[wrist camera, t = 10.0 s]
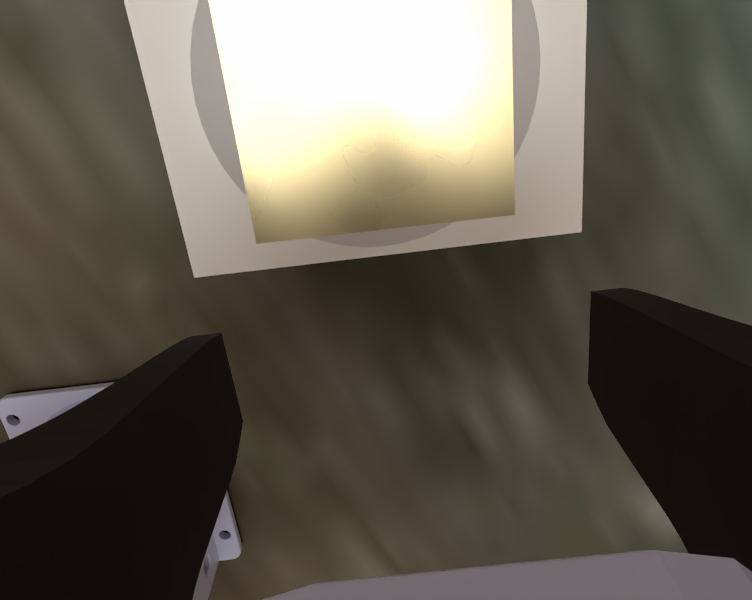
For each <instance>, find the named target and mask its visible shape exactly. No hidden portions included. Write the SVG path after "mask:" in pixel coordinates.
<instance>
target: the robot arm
mask: <svg viewBox="0 0 752 600" xmlns="http://www.w3.org/2000/svg"><path fill="white" fill-rule="evenodd" d="M588 384H589V387H590V389H591V391H592V394H593V396H594V398H595V400H596V403H597V405H598V407H599V409H600V411H601V413H602V415H603V417H604V420H605V422H606V424H607V425H608V427H609V429H610V430H611V432H612V433H613V435H614V436H615V438H616V439H617V441H618V443H619V444H620V446H621V447H622V449H623V450H624V452H625V453H626V455H627V456H628V458H629V459H630V461H631V462H632V464H633V465H634V467H635V468H636V470H637V471H638V473H639V474H640V476H641V477H642V479H643V480H644V482H645V483H646V485H647V486H648V488H649V489H650V491H651V492H652V494H653V495H654V497H655V498H656V500H657V501H658V503H659V504H660V506H661V507H662V509H663V510H664V512H665V513H666V515H667V516H668V518H669V519H670V521H671V523H672V524H673V526H674V528H675V529H676V531H677V533H678V534H679V536H680V538H681V539H682V541H683V543H684V545H685V547H686V549H687V551H688V553H689V554H686V553H676V552H666V551H657V550H640V551H630V552H620V553H610V554H600V555H590V556H580V557H570V558H560V559H550V560H540V561H530V562H520V563H510V564H500V565H490V566H480V567H469V568H459V569H449V570H439V571H429V572H419V573H409V574H399V575H389V576H379V577H369V578H359V579H349V580H339V581H329V582H319V583H314V584H311V585H308V586H305V587H301V588H298V589H295V590H292V591H288V592H285V593H282V594H279V595H275V596H272V597H269V598H266V599H262V600H752V326H750V325H747V324H743V323H740V322H737V321H733V320H730V319H727V318H723V317H720V316H717V315H714V314H711V313H708V312H705V311H702V310H698V309H695V308H692V307H689V306H686V305H683V304H680V303H677V302H674V301H671V300H668V299H665V298H662V297H659V296H655V295H652V294H649V293H645V292H641V291H638V290H633V289H627V288H618V289H609V290H600V291H591V308H590V339H589V369H588ZM12 415H15V416H17V417H18V418H19V419H20V420H17V419H15V418H14V417H13V416H12ZM0 418H1V421H2V423H3V425H4V428H5V430H6V432H7V434H8V437H9V439H10V440H8V441H6V442H3V443H1V444H0V600H208V598H209V594H210V591H211V587H212V584H213V580H214V576H215V573H216V569H217V566H218V562H219V561H221V560H231V559H235V558H237V557H239V555H240V554H241V550H242V543H241V539H240V535H239V532H238V528H237V524H236V521H235V517H234V513H233V510H232V506H231V502H230V499H229V495H228V491H227V488H228V485H229V482H230V479H231V476H232V473H233V470H234V467H235V463H236V458H237V453H238V448H239V442H240V436H241V429H242V423H243V419H242V415H241V411H240V407H239V403H238V399H237V395H236V391H235V387H234V383H233V379H232V375H231V371H230V367H229V362H228V358H227V354H226V350H225V346H224V342H223V338H222V334H221V333H218V334H209V335H200V336H192V337H189V338H186V339H184V340H182V341H180V342H178V343H176V344H175V345H173V346H171V347H169V348H168V349H166V350H165V351H163V352H161V353H160V354H158V355H157V356H155V357H154V358H152V359H150V360H149V361H147V362H146V363H144V364H143V365H141V366H140V367H138V368H137V369H135V370H133V371H132V372H130V373H129V374H127V375H126V376H124V377H123V378H121V379H119V380H118V381H116V382H111V383H102V384H93V385H85V386H76V387H67V388H59V389H50V390H41V391H32V392H24V393H15V394H8V395H5V396H4V397H3V398H1V399H0ZM223 530H225V531H228V532H229V533H225V532H223Z"/></svg>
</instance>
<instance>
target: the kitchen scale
mask: <svg viewBox="0 0 752 600" xmlns="http://www.w3.org/2000/svg"><path fill="white" fill-rule="evenodd" d="M124 3H125V7H126V11H127V15H128V19H129V22H130V26H131V30H132V34H133V38H134V42H135V46H136V50H137V54H138V58H139V62H140V66H141V70H142V74H143V78H144V82H145V86H146V90H147V93H148V97H149V101H150V105H151V109H152V113H153V117H154V121H155V125H156V129H157V133H158V137H159V141H160V145H161V149H162V153H163V157H164V161H165V164H166V168H167V172H168V176H169V180H170V184H171V188H172V192H173V196H174V200H175V204H176V208H177V212H178V216H179V220H180V224H181V228H182V231H183V235H184V239H185V243H186V247H187V251H188V255H189V259H190V263H191V267H192V271H193V275H194V278H196V277H205V276H213V275H222V274H230V273H239V272H247V271H256V270H264V269H273V268H281V267H290V266H298V265H307V264H315V263H323V262H332V261H340V260H349V259H357V258H366V257H374V256H383V255H391V254H400V253H408V252H417V251H425V250H434V249H442V248H451V247H459V246H468V245H476V244H484V243H493V242H501V241H510V240H518V239H527V238H535V237H544V236H552V235H561V234H569V233H578V232H582V196H583V152H584V108H585V63H586V19H587V0H512V63H513V126H514V189H515V215H510V216H501V217H492V218H483V219H474V220H465V221H456V222H447V223H438V224H429V225H420V226H411V227H403V228H394V229H385V230H376V231H367V232H358V233H349V234H340V235H331V236H322V237H313V238H304V239H295V240H287V241H278V242H269V243H260V244H256V240H255V234H254V229H253V224H252V219H251V214H250V209H249V204H248V199H247V194H246V189H245V184H244V179H243V174H242V168H241V163H240V158H239V153H238V148H237V143H236V138H235V133H234V128H233V123H232V118H231V113H230V107H229V102H228V97H227V92H226V87H225V82H224V77H223V72H222V67H221V62H220V57H219V52H218V46H217V41H216V36H215V31H214V26H213V21H212V16H211V11H210V6H209V1H208V0H124Z"/></svg>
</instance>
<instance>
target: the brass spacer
mask: <svg viewBox="0 0 752 600" xmlns="http://www.w3.org/2000/svg"><path fill="white" fill-rule="evenodd" d="M208 1H209V6H210V11H211V16H212V21H213V26H214V31H215V36H216V41H217V46H218V52H219V57H220V62H221V67H222V72H223V77H224V82H225V87H226V92H227V97H228V102H229V107H230V113H231V118H232V123H233V128H234V133H235V138H236V143H237V148H238V153H239V158H240V163H241V168H242V174H243V179H244V184H245V189H246V194H247V199H248V204H249V209H250V214H251V219H252V224H253V229H254V234H255V240H256V244H260V243H269V242H278V241H287V240H295V239H304V238H313V237H322V236H331V235H340V234H349V233H358V232H367V231H376V230H385V229H394V228H403V227H411V226H420V225H429V224H438V223H447V222H456V221H465V220H474V219H483V218H492V217H501V216H510V215H515V189H514V126H513V63H512V0H208Z"/></svg>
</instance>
